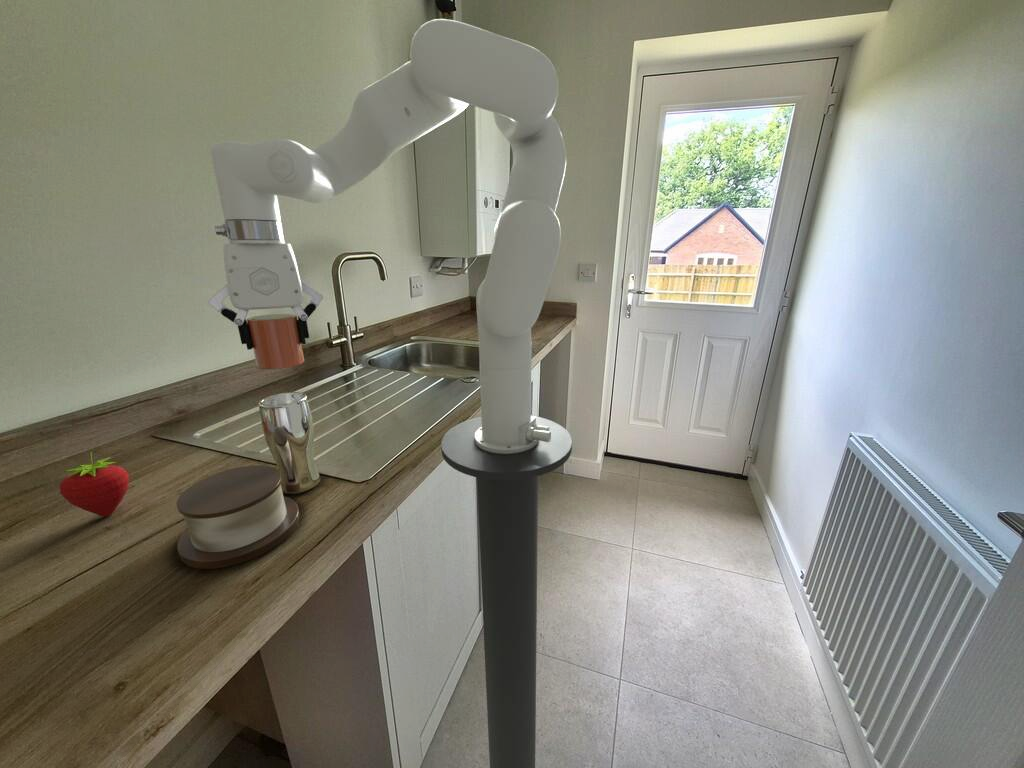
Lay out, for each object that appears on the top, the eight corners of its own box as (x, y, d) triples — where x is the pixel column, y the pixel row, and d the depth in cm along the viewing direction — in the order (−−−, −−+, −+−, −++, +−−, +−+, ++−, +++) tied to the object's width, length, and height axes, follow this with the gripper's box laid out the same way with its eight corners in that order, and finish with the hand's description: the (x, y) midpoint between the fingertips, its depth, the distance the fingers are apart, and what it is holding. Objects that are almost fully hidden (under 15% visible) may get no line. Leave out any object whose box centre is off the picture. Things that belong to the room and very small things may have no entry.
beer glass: (295, 471, 71) (278, 390, 66) (331, 474, 70) (317, 392, 65) (266, 494, 65) (245, 406, 60) (305, 497, 64) (287, 408, 59)
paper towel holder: (321, 515, 59) (313, 473, 57) (222, 584, 47) (207, 534, 45) (258, 492, 65) (249, 453, 63) (156, 549, 53) (139, 503, 51)
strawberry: (92, 506, 62) (69, 447, 59) (149, 500, 64) (129, 442, 60) (60, 531, 57) (33, 468, 53) (124, 524, 58) (100, 461, 55)
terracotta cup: (313, 360, 72) (306, 315, 69) (276, 371, 66) (266, 321, 63) (285, 356, 75) (277, 312, 72) (247, 366, 69) (236, 318, 66)
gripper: (182, 232, 57) (212, 356, 62) (319, 234, 64) (335, 344, 70) (192, 234, 63) (219, 346, 69) (316, 235, 71) (330, 336, 76)
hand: (277, 344), depth 69 cm, fingers closed on terracotta cup, 7 cm apart
